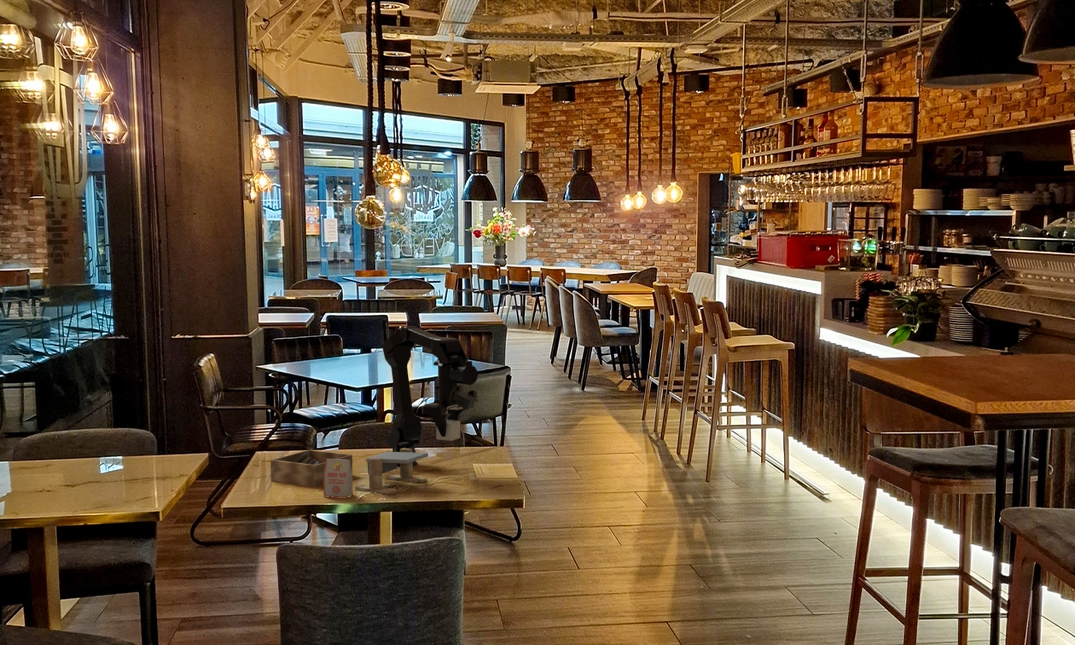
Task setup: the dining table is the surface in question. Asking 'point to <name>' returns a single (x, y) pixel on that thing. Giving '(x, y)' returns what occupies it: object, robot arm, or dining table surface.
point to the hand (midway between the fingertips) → (448, 434)
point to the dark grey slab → (396, 459)
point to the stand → (376, 475)
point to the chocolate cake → (306, 459)
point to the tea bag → (338, 478)
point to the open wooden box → (303, 468)
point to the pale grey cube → (450, 431)
